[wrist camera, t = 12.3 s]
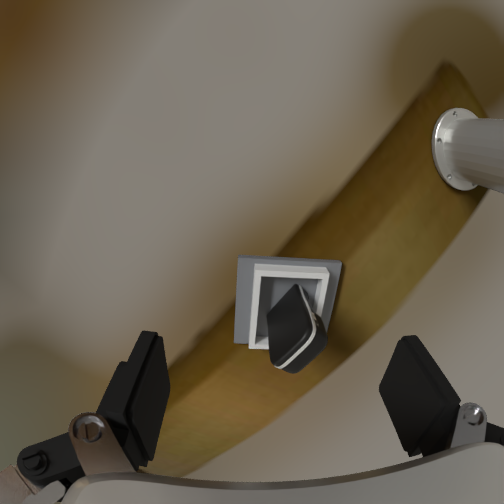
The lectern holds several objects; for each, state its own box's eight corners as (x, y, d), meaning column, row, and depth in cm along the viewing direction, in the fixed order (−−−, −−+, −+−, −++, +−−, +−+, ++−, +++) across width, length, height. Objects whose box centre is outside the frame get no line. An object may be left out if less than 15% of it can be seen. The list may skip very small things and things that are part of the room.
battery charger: (284, 327, 42) (294, 383, 32) (264, 315, 42) (269, 370, 31) (316, 294, 40) (336, 345, 30) (295, 280, 40) (311, 330, 29)
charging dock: (339, 260, 40) (346, 269, 37) (322, 341, 45) (326, 352, 42) (238, 254, 39) (237, 263, 36) (234, 339, 44) (233, 351, 41)
